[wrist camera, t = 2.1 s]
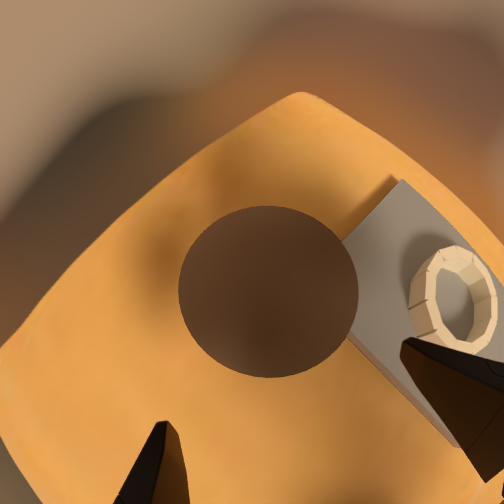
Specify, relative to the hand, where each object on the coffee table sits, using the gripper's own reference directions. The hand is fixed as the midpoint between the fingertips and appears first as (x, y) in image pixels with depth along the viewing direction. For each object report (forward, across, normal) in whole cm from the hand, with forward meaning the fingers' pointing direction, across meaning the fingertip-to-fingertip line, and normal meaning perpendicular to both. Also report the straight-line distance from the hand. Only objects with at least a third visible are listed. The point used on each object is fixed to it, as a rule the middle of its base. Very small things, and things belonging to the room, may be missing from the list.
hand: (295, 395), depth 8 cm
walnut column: (+10, 0, +5) cm, 11 cm away
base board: (+7, -16, +8) cm, 19 cm away
